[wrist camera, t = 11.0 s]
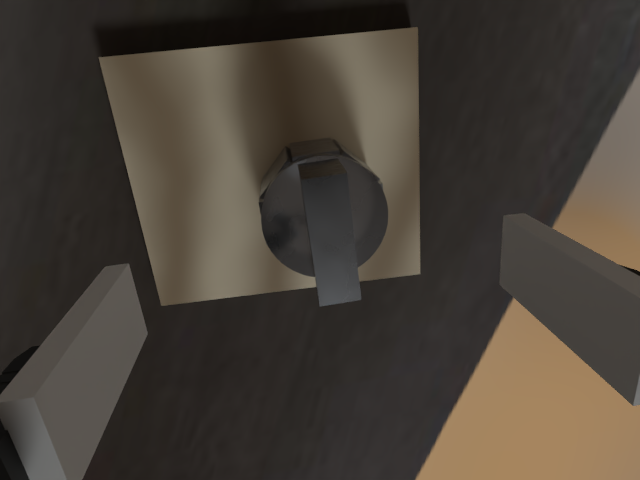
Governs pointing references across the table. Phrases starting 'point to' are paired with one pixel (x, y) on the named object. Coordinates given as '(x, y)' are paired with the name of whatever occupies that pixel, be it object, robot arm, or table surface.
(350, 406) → the table surface
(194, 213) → the socket base
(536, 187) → the table surface
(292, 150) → the dark grey rounded piece
